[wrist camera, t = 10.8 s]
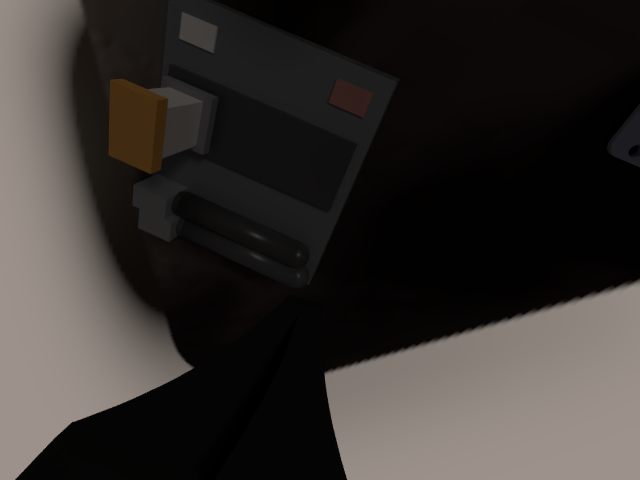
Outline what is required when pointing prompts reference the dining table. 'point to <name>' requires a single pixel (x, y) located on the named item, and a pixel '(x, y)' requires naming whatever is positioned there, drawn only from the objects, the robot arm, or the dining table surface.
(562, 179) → the dining table surface
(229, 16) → the breaker box
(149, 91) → the breaker toggle
